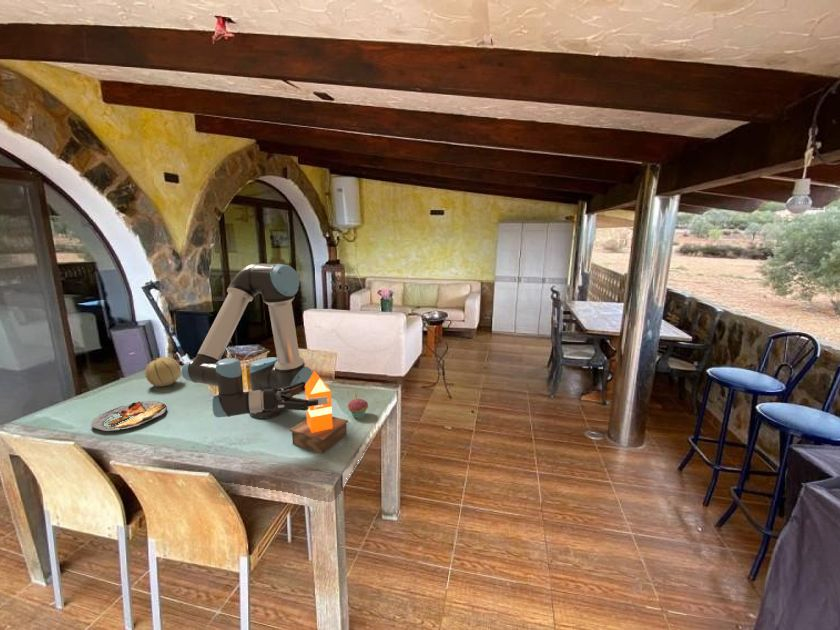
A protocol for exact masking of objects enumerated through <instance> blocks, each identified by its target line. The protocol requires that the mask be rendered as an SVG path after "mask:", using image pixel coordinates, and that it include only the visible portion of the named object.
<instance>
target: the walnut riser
mask: <svg viewBox="0 0 840 630" xmlns="http://www.w3.org/2000/svg"><path fill="white" fill-rule="evenodd" d="M348 423H349V420H348V419H345V418H340V417H336V416H333V415H332V428H331V429H327V430H322V431H317V432H313V433H312V432H311V430H310V428H309V425H308V423H307V418H306V419H305V420H303V421H301V422H299V423H297V424H296V425H295V426H293V427H291V428H290V429H289V431H290V432H291V437H292V440H291V441H292V445H294V446H298V447H301V448H304V449H307V450H310V451H313V452H316V453H320V454H325V453H326V452H328V451H329V450H330V449H331V448H332V447H334V446H335V445H336V444H337V443H338V442H339V443H340V441H341V440H343V439H344V438H345V437H346V436H348V433H347V432H348V431H347V430H348V428H347V426H348V425H347V424H348Z"/></svg>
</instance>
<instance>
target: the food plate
mask: <svg viewBox="0 0 840 630" xmlns="http://www.w3.org/2000/svg"><path fill="white" fill-rule="evenodd" d="M167 408H168V406H167V405H166V404H165V403H163V402H160V401H156V400H155V401H153V400H151V401H149V400H148V401H147V400H146V401H137V402H132V403H128V404H126V405H121V406H119V407H116V408H113V409H111V410H109V411H105V412H104V413H101V414H99V415H98V416H96V417H95V418H93V420H92V421H91V424H90V425H91V427H92V428H94V429H96V430H99V431H100V430H101V431H106V432H109V431H119V430H120V429H122V430H123V429H124V430H125V429H129V428H134V427H137V426H140V425H143V424H145V423H146V422H150V421H151V420H153V419H155V418H157V417H159V416H162V415H163V414H165V413H166V411H167ZM118 413H119V414H120V416H122V417H119V418H117V419H116V418H114V419H115V420H112V421H110V422H109V421H108V423H109V424H107V425H106V426H104V422H105V421H106V420H107V419H109V418H110V417H113V415H114V414H117V415H118ZM137 415H138V416H137ZM129 416H130V417H132V416H134V417H133V418H131V419H129V418H130V417H129ZM127 419H129V420H127ZM125 420H127V421H125ZM122 421H125V422H123V423H122V424H118V423H120V422H122ZM115 424H118V425H115ZM108 425H111V426H112V425H115V426H112V427H109V426H108ZM108 427H109V428H108ZM115 428H119V429H115ZM120 431H121V430H120Z"/></svg>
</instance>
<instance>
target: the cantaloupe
mask: <svg viewBox="0 0 840 630" xmlns="http://www.w3.org/2000/svg"><path fill="white" fill-rule="evenodd" d="M144 371H145V372H144V374H145V378H146V380H147V382H149V384H151V385H153V386H155V387H168V386H171V385H172V384H174V383H175V382H176V381H178V379H179V378H180V376H181V375H182V368H181V366H180V364H179V363H178V362H177V360H175V359H174V358H172V357H167V356H161V357H158V358H157V357H153V359H152V360H151V361H150V362H149V363H148V364H147V365H146V367H145V370H144Z"/></svg>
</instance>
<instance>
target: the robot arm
mask: <svg viewBox="0 0 840 630" xmlns="http://www.w3.org/2000/svg"><path fill="white" fill-rule="evenodd" d="M299 287H300V278H299V275H298V273H297V271H296V270H295V269H294V268H293V267H292V266H291V265H288V264H283V263H262V262H254V263H251V264H248V265H246V266H244V267H243V268H242V269H240V271H238V273H237V274H236V275H235V276H234V277H233V279H232V280H231V281H230V283H229V285H228V287H227V289H226V292H227V293H228V294H226V297H225V299H224V301H223V303H222V306H221V307H220V309H219V311H218V313H217V315H216V317H215V319H214V321H213V323H212V324H211V327H210V329H209V330H208V333H207V334H206V336H205V339H204V340H203V342H202V344H201V345H200V348H199V350H198V352H197V354H196V356H195V358H193V359H189V360H187V361H186V362H185V363H184V364H183V365H182V368H181V375H182V378H184V380H186V381H189V382H192V383H195V384H204V385H208V386H214V387H217V391H218V394H217V395H214V396H213V397H212V400H211V401H212V403H211V404H212V412H213V413H212V414H213V415H214V417H216V418H227V417H228V418H229V417H234V416H240V415H247V414H249V416H250V417H251V418H254V419H269V418H274V417H278V416H280V415H282V414H283V413H284V412H286V410H290V411H304V412H305V411H306V410H308V409H309V407H310V406H317V405H325V404H328V397H327V396H324V397H316V398H309V399H308V400H306V399H303V398H298V397H294V396H296V395H297V396H299V395H302V394H305V385H306V384H307V382H308V380H309V379H310V377H311V376H312V374H313V372H312V369H311V368H310V367H309V366H305V365H306V364H305V359H304V358H303V357H301V356H300V351H299V345H298V338H297V331H296V325H295V324H296V323H295V317H294V310H293V304H292V302H293V301H294V299H295V297H296V294H297V292H298V291H299ZM258 294H260V295H261V297H262V301H263V303H265V304H266V305H268V306H267V307H268V312H269V318H270V323H271V324H270V325H271V330H272V335H273V341H274V348H275V353H276V357H274V356H272V357H270V356H269V357H264V358H260V359H257V360H254V361H253V362H251V363H250V365H249V378H250V380H249V381H250V387H251V390H249V391H244V386H243V385H244V383H243V370H242V365H241V360H239V359H237V358H235V357H231V358H228V357H227V358H223V359H222V356H223V355H224V353H225V350H226V349H227V346H228V345H229V343H230V341H231V339H232V337H233V335H234V332H235V330H236V328H237V326H238V325H239V322H240V321H241V318H242V316H243V315H244V312H245V310H246V308H247V306H248V304H249V302H252V301H253V300H254V298H255V296H257V295H258Z"/></svg>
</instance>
